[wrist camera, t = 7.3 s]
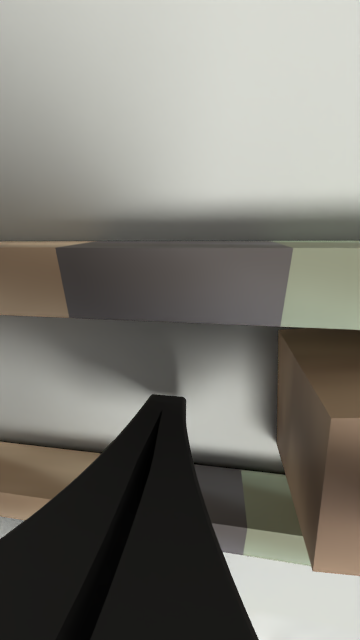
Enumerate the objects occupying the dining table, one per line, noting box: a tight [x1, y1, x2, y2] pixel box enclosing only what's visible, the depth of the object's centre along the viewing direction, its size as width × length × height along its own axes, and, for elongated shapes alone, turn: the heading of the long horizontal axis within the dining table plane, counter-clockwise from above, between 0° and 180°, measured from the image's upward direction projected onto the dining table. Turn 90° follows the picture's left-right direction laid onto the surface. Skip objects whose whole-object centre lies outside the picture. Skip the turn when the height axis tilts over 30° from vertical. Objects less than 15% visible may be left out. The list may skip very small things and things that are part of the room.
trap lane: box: [0, 241, 360, 566], centre depth 9 cm, size 13×31×3 cm, turn 91°
